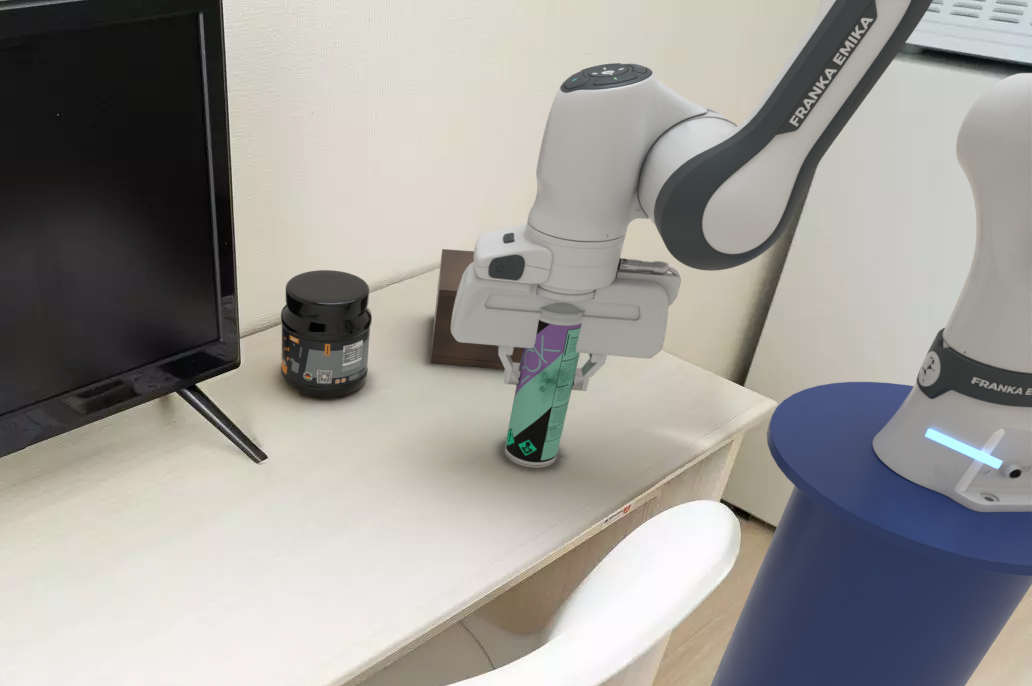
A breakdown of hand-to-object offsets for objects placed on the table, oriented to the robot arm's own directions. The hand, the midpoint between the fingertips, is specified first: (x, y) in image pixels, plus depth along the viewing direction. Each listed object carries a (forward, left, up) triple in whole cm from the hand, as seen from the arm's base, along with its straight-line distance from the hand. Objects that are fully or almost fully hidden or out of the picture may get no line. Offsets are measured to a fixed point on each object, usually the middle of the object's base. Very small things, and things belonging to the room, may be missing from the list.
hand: (543, 384), depth 95 cm
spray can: (0, 0, -9) cm, 9 cm away
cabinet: (+4, -25, -9) cm, 27 cm away
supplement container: (+24, -12, -9) cm, 28 cm away
